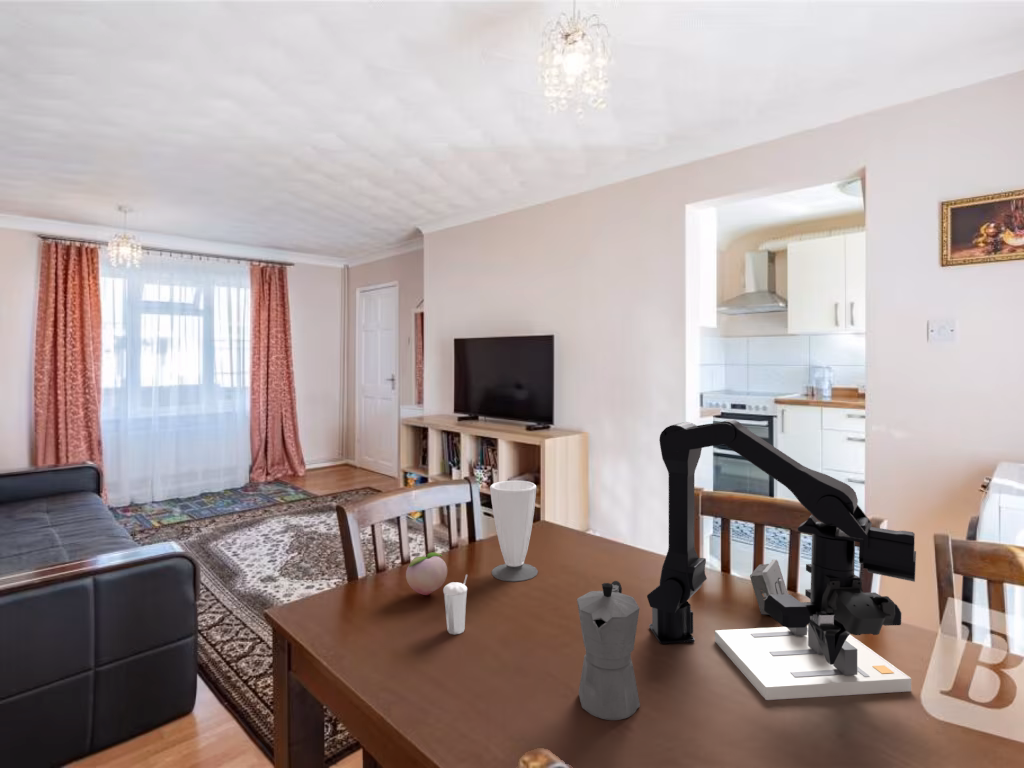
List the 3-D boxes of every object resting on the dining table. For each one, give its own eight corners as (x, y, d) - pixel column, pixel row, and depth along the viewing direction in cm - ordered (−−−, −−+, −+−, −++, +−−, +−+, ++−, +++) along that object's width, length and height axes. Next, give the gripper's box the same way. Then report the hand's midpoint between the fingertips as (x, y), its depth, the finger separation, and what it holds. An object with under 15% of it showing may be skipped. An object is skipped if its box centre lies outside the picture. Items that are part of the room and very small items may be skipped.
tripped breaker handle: (844, 675, 81) (844, 649, 81) (833, 665, 84) (833, 641, 83) (857, 674, 81) (857, 649, 81) (845, 665, 84) (845, 640, 84)
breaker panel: (766, 700, 79) (766, 686, 79) (714, 641, 96) (714, 629, 96) (911, 691, 81) (911, 677, 80) (835, 634, 98) (835, 623, 97)
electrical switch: (780, 621, 103) (775, 573, 103) (752, 616, 106) (748, 570, 106) (791, 604, 110) (786, 559, 110) (764, 600, 113) (759, 556, 114)
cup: (538, 581, 124) (537, 490, 123) (490, 582, 124) (488, 491, 123) (537, 563, 135) (535, 479, 135) (492, 563, 135) (490, 480, 135)
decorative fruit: (428, 608, 111) (427, 561, 111) (400, 599, 115) (399, 554, 115) (456, 591, 119) (455, 547, 119) (428, 584, 123) (427, 541, 123)
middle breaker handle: (818, 654, 87) (818, 630, 87) (808, 645, 90) (808, 622, 89) (829, 653, 87) (829, 629, 87) (819, 645, 90) (819, 622, 90)
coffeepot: (633, 737, 72) (632, 607, 71) (566, 721, 75) (564, 597, 74) (647, 674, 86) (646, 566, 85) (591, 664, 89) (589, 559, 89)
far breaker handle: (796, 635, 93) (796, 613, 93) (787, 628, 96) (787, 606, 95) (807, 635, 93) (807, 612, 93) (798, 627, 96) (798, 606, 96)
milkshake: (475, 628, 102) (474, 577, 102) (454, 639, 98) (453, 586, 98) (460, 620, 105) (459, 571, 105) (439, 631, 101) (438, 579, 101)
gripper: (806, 586, 73) (804, 697, 73) (934, 584, 74) (930, 693, 75) (763, 558, 84) (761, 654, 85) (875, 556, 85) (872, 651, 86)
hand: (829, 663), depth 82 cm, fingers closed
